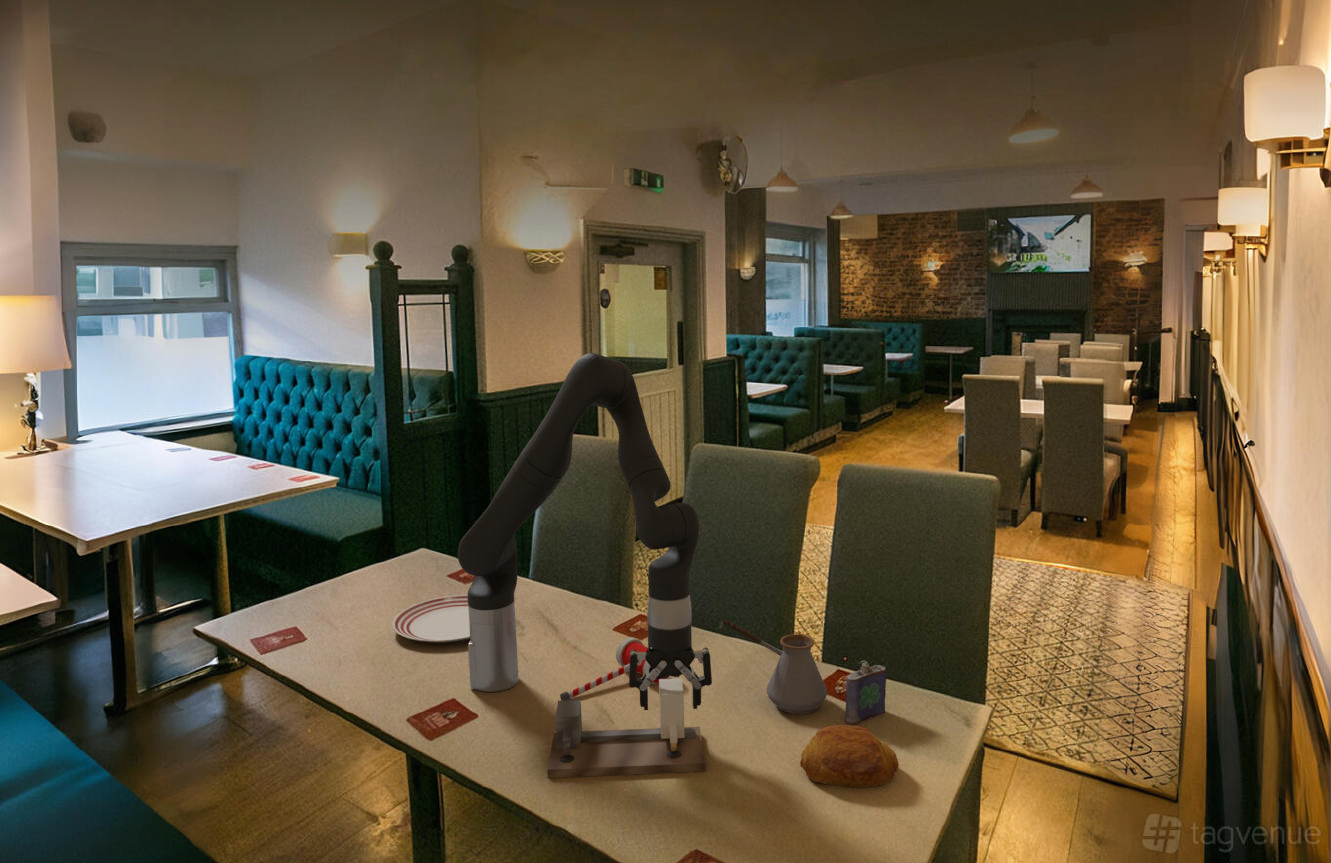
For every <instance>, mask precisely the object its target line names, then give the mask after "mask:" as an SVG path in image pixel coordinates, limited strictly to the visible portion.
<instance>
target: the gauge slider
mask: <svg viewBox="0 0 1331 863" xmlns="http://www.w3.org/2000/svg"><path fill="white" fill-rule="evenodd" d="M658 686H659V687H658V689H659V692H658V694H659V698H658V699H659V724H660V727H659V728H661V739H667V738H670V743H671V751H676V750H677V738H685V737H684V727H685V699H684V698H685V697H684V696H685V694H684V684H683V680H682V678H680V677H678V678H668V679H659V683H658Z"/></svg>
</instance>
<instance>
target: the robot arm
mask: <svg viewBox="0 0 1331 863" xmlns="http://www.w3.org/2000/svg"><path fill="white" fill-rule="evenodd" d="M572 365H573V366H572V367H571V368H570V370H569V372H568V374H567V375H566V377H565V379H564V381H563V383H562V385H561V387H560V389H559V391H558V392H557V395H556V396H555V398H554V400H553V402H552V403H551V406H550V407H549V409H548V411H547V412H546V414H545V416H544V418H543V419H542V420H541V423H540V424H539V425H538V427H537V429H536V431H535V432H534V433H533V435H532V437H531V438H530V440H529V441H528V442H527V444H526V445H525V446H524V448H523V449H522V451H521V452H520V454H519V456H518V457H517V459H516V460H515V461H514V463H513V465H512V467H511V468H510V470H509V472H508V473H507V474H506V476H505V478H504V480H502V483H501V484H500V486H499V488H498V489H497V491H496V492H495V495H494V497H493V499H492V500H491V502H490V503H489V505H488V506H487V507H486V509H485V510H484V512H482V514H481V515H480V516H479V518H478V519H477V520H476V521H475V522H474V524H473V525H472V526H471V527H470V528H469V529H468V531H467V532H466V533H465V534H464V535H463V536H462V538H461V540H460V541H459V544H458V548H457V559H458V562H459V566H460V567H461V569H462V570H463V571H464V572H466V573H467V574H468V575H471V576H474V577H473V580H472V583H471V585H470V586H469V588H468V589H467V595H468V611H469V628H470V638H469V642H468V646H467V650H468V663H469V664H468V667H469V670H468V671H469V684H470V685H469V686H470V689H471V690H477V691H481V692H486V693H487V692H488V693H491V692H492V693H493V692H494V693H495V692H502V691H505V690H509V689H512V687H514V686H516V684H518V682H519V662H518V660H519V659H518V643H517V640H518V639H517V624H516V623H517V622H516V606H515V605H516V603H515V602H516V601H515V592H516V588H517V586H518V585H517V583H518V549H517V548H518V547H517V541H516V537H515V534H516V533H517V531H518V530H519V529H520V527H521V526H522V525H523V524H524V523H525V522H526V521H527V520H528V519H529V518H530V517H531V516H532V515H533V514H534V513H535V512H536V511H537V510H538V509H539V508H541V506H542V505H543V504H544V503H545V502H546V500H547V499H548V498H549V497H550V496H551V495H552V494H553V493H554V491H555V489H556V488H557V487H558V485H560V482H562V480H563V478H564V477H565V475H566V474H567V472H568V471H569V469H570V466H571V462H572V455H573V440H574V434H575V431H576V427H577V425H578V424H579V422H580V420H581V418H582V417H583V415H584V414H585V413H586V411H587V410H588V409H589V407H590V406H596V407H600V408H605V409H606V410H607V412H608V413H609V415H610V416H611V418H612V419H613V421H614V423H615V425H616V428H617V431H618V445H617V460H618V464H619V468H620V470H621V473H622V476H623V478H624V480H625V482H626V485H627V487H628V489H629V492H630V494H631V497H632V503H633V510H634V517H635V528H636V533H637V536H638V539H639V541H640V542H641V544H643V546H644V547H646V548H647V549H650V550H655V551H657V550H663V549H667V551H666V552H665V553H664V554H663V555H662V556H660V557H657V558H655V559H654V560H653V561H651V562H650V563H649V566H648V571H647V572H648V573H647V574H648V576H647V577H648V579H647V580H648V582H647V584H648V598H647V599H648V600H647V606H646V607H647V608H646V609H647V611H646V612H647V613H646V617H647V648H648V649H647V651H646V652H637V650H635V649H632V650H631V652H630V671H628V672H629V673H628V674H629V675H628V676H629V677H628V684H629V685H628V686H629V687H630V688H632V689H633V688H636V689H638V690H639V705H640V707H641V708H643V710H644V711H648V710H649V696H648V694H649V692H648V691H649V690H648V689H649V687H650V685H652V684H651V683H652V682H653V681H654V680H655V679H656V677H657V676H658V675H659V676H661V677H668V678H670V677H672V678H680V676H682V675H683V677H685V679H686V680H687V681H688V682H689V683H690V684H691V685H692V686H691V688H692V689H691V690H692V691H691V692H692V709H693V710H698V706H699V707H700V706H701V704H702V688H704V687H705V686H707V687H709V686H711V685H712V684H713V678H712V665H711V664H712V663H711V662H712V661H711V654H710V650H709V648H708V647H705V646H704V647H703V648H702V649H701V650H694V649H693V647H692V646H693V644H692V643H693V642H692V640H693V639H692V638H693V637H692V636H693V635H692V633H693V632H692V631H693V630H692V601H691V595H690V594H691V592H690V591H691V590H690V589H691V588H690V586H691V585H690V583H691V582H690V581H691V580H690V577H691V576H690V571H691V567H692V563H693V560H694V555H695V551H696V547H697V544H698V540H699V536H700V527H701V526H700V520H699V515H698V514H697V512H696V510H695V508H694V507H693V506H692V505H690V504H689V503H685V502H677V503H671V504H665V505H659V506H658V505H657V504H656V502H657V501H659V500H662V499H663V498H665V497H666V496H667V494H668V493H670V490H671V487H672V486H671V481H670V477H669V476H668V473H667V471H666V469H665V467H664V464H663V463H662V460H661V458H660V457H659V456H660V455H659V453H658V452H657V450H656V447H655V445H654V442H653V440H652V438H651V434H650V432H649V429H648V425H647V424H648V423H647V421H646V418H645V415H644V414H645V413H644V411H643V407H642V403H641V400H640V397H639V393H638V388H637V384H636V381H635V379H634V375H633V373H632V371H631V369H630V367H628V366H627V365H626V364H625V363H624V362H621V361H619V360H617V359H613V358H612V357H607V356H604V355H602V354H600V353H599V354H598V353H594V352H593V353H592V352H590V353H586V354H583V355H582V356H580V357H579V358H578V359H577V360H576V362H574V364H572ZM644 659H646V661H647V662H648V664H649V665H650V666H649V668H648V669H647V671H646V673H645V674H644V675H642V677H637V673H638V672H637V665H641V663H642V661H643V660H644ZM695 659H697V660H698V663H699V664H702V668H703V670H702V671H703V675H701V676H699V675H698V673H696V671H695V670H694V668H693V667H692V666H691V664H692V663H694V660H695Z"/></svg>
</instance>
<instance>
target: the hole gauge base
mask: <svg viewBox="0 0 1331 863" xmlns="http://www.w3.org/2000/svg"><path fill="white" fill-rule="evenodd" d="M554 715H555V716H554V719H555V721H554V722H555V723H554V724H555V731H554V732H553V734H552V735H553V736H552V741H551V747H550V753H549V760H548V764H547V771H546V772H547V779H551V778H552V779H553V778H554V779H555V778H556V779H557V778H578V777H601V776H602V777H604V776H625V775H626V776H629V775H649V774H650V775H652V774H673V773H674V774H679V773H698V772H699V773H700V772H701V773H702V772H703V773H704V772H706V766H707V765H706V759H705V752H704V747H703V745H704V744H703V739H702V735H701V734H702V733H701V728H700V727H701V726H684V737H685V738H677V750H676V751H671V743H670V738H667V739H661V728H660V727H654V728H653V727H652V728H632V729H631V728H630V729H627V728H626V729H607V730H605V729H604V730H583V727H582V726H583V725H582V721H583V720H582V700H581V699H570V700H561V699H560V700H557V705H556V710H555V714H554Z"/></svg>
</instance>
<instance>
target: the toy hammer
mask: <svg viewBox="0 0 1331 863" xmlns="http://www.w3.org/2000/svg"><path fill="white" fill-rule="evenodd" d="M632 649H635V650H637V652H646V651H647V649H648V646H645V645H644V643H643V642H642V641H641V640H640V639H637V638H635V637H627V638H625V639H624V640H622V641H621V642H620V643H619V645H618V646H617V649H616V653H615V659H616V662H617V663H618V665H620V666H621V667H619V668H617V669H615V670H613V671H611V672H608V673H606V674H605V675H602V676H599V677H598V678H596V679H594V680H591V681H589V682H587V683H585V684H583V685H580V686H578V687H576V688H574V689H572V690H570V691H564V692H562V693H560V694H559V698H560V701H561V700H572V699H573V698H575V697H577V696H580V695H582V694H584V693H585V692H588V691H590V690H592V689H594V688H596V687H598V686H601V685H602V684H604V683H607V682H610V681H611V680H613V679H616V678H618V677H619V676H621V675H623V674H626V673H628V672H629V671H630V652H631V650H632ZM649 666H650V665H649V664H648V662H647V661H646V659H644V660H643V661H642V663H641V665H637V673H638V674H639V675H642V676H643V675H644V674H645V673H646V671H647V669H648V668H649ZM659 679H669V677H661V676H659V675H658V676H657V677H656V679H655V680H654V681H653V682H652V683H651V684H650V685H654V686H655V685H659Z"/></svg>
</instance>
